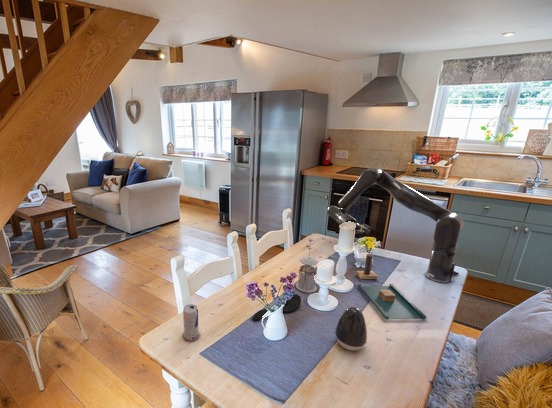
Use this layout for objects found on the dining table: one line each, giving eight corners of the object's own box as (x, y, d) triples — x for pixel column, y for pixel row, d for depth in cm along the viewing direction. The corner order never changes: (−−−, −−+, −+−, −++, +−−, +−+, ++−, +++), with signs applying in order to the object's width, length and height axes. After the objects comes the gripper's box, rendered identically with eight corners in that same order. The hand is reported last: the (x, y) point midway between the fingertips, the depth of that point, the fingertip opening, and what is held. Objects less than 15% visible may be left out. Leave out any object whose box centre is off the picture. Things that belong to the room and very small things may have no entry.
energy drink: (200, 332, 116) (200, 305, 113) (195, 342, 111) (194, 314, 108) (187, 329, 118) (186, 302, 114) (181, 339, 113) (180, 311, 110)
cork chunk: (378, 295, 137) (379, 289, 136) (388, 295, 137) (389, 289, 136) (383, 301, 133) (385, 295, 132) (394, 301, 133) (395, 295, 132)
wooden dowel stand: (355, 276, 155) (359, 252, 151) (371, 276, 155) (375, 252, 151) (360, 281, 150) (364, 257, 147) (376, 281, 150) (380, 257, 147)
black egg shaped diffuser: (328, 343, 111) (332, 307, 106) (343, 331, 117) (348, 296, 112) (355, 360, 103) (361, 322, 99) (370, 346, 109) (376, 310, 105)
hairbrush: (247, 308, 126) (292, 288, 137) (247, 316, 127) (291, 295, 138) (259, 320, 119) (306, 298, 130) (259, 328, 120) (305, 305, 132)
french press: (318, 284, 148) (323, 236, 141) (314, 296, 138) (319, 246, 131) (298, 279, 153) (302, 232, 146) (292, 291, 143) (296, 241, 136)
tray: (357, 288, 145) (358, 283, 144) (391, 288, 145) (392, 283, 144) (384, 321, 122) (385, 316, 121) (425, 321, 122) (426, 316, 121)
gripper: (335, 215, 172) (347, 226, 156) (361, 215, 172) (375, 226, 157) (334, 228, 174) (346, 239, 159) (359, 228, 174) (373, 239, 159)
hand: (360, 232), depth 158 cm, fingers open, 8 cm apart
